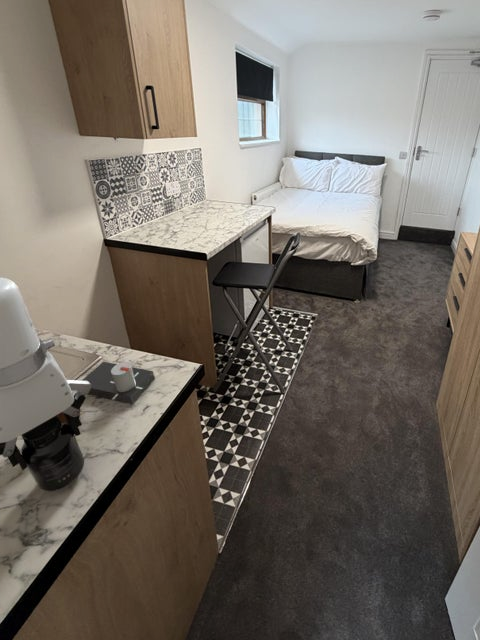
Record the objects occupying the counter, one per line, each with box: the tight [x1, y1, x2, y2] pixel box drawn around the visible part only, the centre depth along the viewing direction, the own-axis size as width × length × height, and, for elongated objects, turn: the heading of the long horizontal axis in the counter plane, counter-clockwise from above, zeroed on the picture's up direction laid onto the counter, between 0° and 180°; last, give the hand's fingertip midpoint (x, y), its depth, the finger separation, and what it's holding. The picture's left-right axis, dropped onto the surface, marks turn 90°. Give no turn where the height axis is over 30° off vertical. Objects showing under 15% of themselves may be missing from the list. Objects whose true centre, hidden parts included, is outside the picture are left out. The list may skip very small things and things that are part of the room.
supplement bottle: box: [21, 416, 85, 492], centre depth 54 cm, size 7×7×12 cm
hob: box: [81, 361, 156, 405], centre depth 75 cm, size 15×10×3 cm, turn 77°
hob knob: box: [111, 361, 136, 392], centre depth 72 cm, size 4×4×5 cm
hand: (49, 445), depth 53 cm, fingers closed on supplement bottle, 6 cm apart
